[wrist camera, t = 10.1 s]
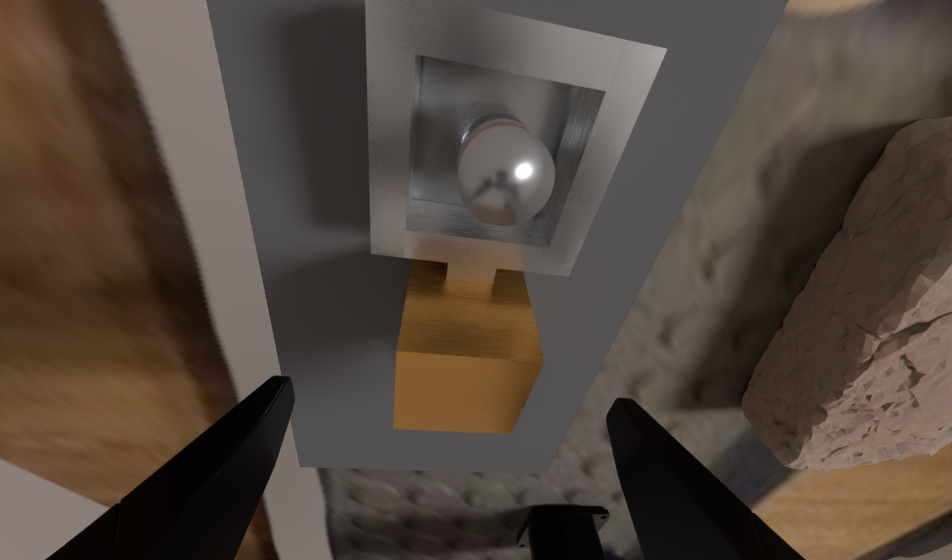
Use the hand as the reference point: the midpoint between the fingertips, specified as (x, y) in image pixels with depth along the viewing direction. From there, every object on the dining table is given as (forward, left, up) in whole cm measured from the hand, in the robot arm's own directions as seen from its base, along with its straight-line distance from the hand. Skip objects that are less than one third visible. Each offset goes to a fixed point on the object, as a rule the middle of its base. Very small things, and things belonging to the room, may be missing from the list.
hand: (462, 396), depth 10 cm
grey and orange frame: (+2, 0, -5) cm, 6 cm away
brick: (+1, -21, -7) cm, 22 cm away
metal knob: (+6, 0, -6) cm, 8 cm away
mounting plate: (-2, 0, -7) cm, 7 cm away
